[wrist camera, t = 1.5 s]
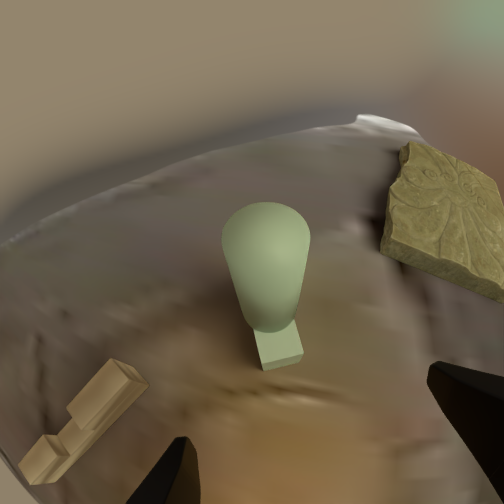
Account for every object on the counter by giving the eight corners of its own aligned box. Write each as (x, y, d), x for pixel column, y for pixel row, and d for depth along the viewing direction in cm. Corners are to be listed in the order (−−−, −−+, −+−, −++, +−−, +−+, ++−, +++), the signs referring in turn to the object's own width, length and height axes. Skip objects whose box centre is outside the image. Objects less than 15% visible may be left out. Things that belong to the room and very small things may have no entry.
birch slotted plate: (149, 385, 21) (128, 379, 18) (54, 482, 14) (30, 484, 11) (133, 366, 22) (110, 357, 19) (42, 464, 15) (17, 464, 12)
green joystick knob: (304, 360, 22) (338, 305, 11) (257, 372, 21) (239, 330, 10) (280, 277, 26) (283, 170, 15) (238, 287, 26) (210, 184, 15)
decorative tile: (489, 192, 31) (498, 177, 28) (502, 306, 22) (520, 293, 19) (390, 149, 36) (395, 130, 33) (372, 255, 27) (382, 234, 24)
